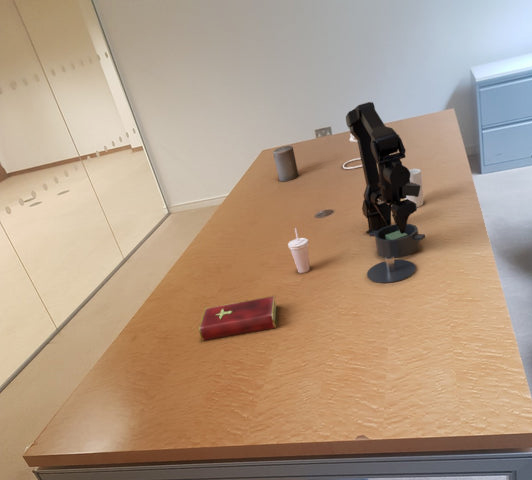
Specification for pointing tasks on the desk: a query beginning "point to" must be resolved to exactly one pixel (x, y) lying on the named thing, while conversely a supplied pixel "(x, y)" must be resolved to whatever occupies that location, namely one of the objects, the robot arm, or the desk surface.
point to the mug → (417, 178)
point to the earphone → (353, 159)
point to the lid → (391, 270)
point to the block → (395, 235)
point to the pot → (397, 241)
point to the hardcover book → (238, 318)
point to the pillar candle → (285, 163)
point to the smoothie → (300, 253)
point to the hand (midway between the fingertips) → (395, 229)
